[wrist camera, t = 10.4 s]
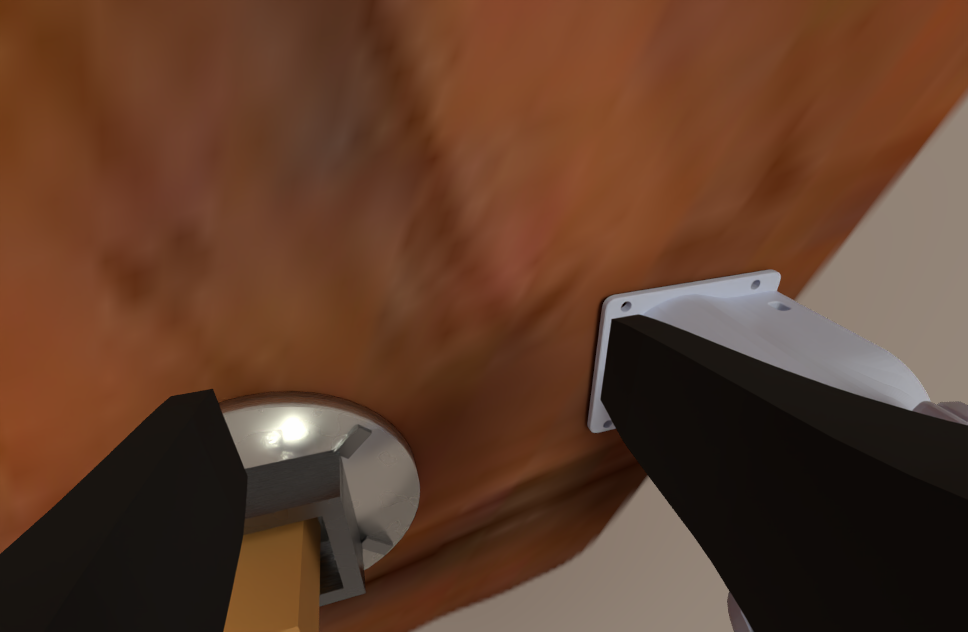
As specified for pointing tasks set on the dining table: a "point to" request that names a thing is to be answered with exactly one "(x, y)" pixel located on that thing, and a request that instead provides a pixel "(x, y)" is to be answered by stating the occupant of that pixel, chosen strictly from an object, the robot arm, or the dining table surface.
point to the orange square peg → (277, 580)
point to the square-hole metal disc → (326, 478)
